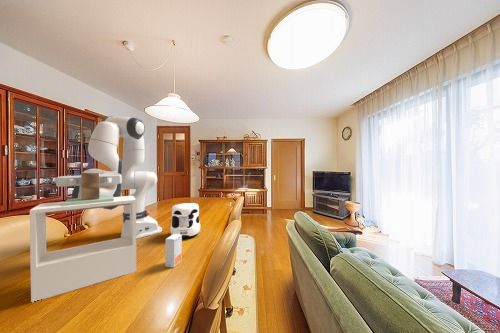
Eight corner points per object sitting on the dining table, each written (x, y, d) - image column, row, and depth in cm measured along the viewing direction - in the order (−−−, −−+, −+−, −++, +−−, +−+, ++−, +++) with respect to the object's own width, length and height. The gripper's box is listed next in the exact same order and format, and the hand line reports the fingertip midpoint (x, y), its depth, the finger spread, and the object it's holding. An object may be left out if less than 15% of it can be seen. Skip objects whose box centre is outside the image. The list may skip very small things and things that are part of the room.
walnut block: (99, 197, 75) (99, 172, 75) (99, 199, 71) (98, 172, 71) (83, 198, 72) (82, 172, 72) (81, 200, 68) (81, 173, 68)
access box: (133, 259, 85) (132, 193, 85) (136, 271, 76) (135, 197, 75) (41, 283, 68) (40, 200, 68) (31, 302, 59) (29, 207, 58)
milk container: (190, 228, 127) (190, 201, 127) (206, 234, 116) (205, 205, 116) (165, 235, 113) (164, 206, 113) (180, 243, 102) (180, 210, 102)
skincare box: (174, 268, 78) (174, 239, 78) (165, 266, 79) (165, 238, 79) (182, 260, 84) (182, 234, 84) (173, 259, 85) (173, 233, 85)
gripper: (59, 172, 75) (50, 174, 64) (120, 171, 88) (122, 172, 77) (59, 188, 75) (51, 192, 64) (120, 184, 88) (122, 187, 77)
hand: (90, 181), depth 71 cm, fingers open, 8 cm apart
